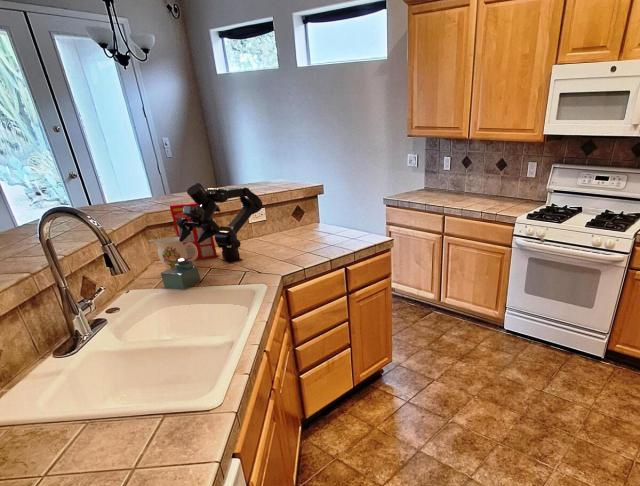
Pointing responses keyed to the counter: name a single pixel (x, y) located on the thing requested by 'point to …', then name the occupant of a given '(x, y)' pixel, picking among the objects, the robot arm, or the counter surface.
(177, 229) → the food packaging
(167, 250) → the pitcher
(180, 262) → the lid button
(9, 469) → the counter surface
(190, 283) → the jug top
